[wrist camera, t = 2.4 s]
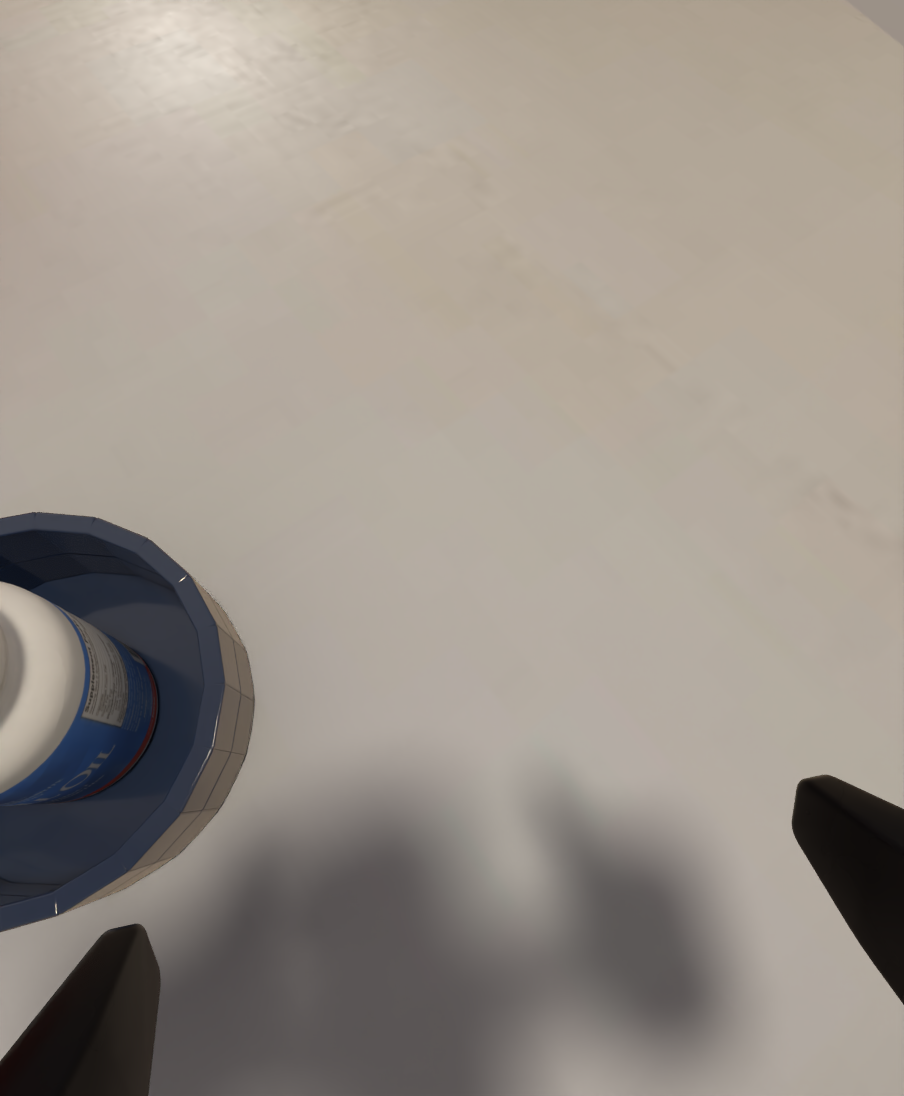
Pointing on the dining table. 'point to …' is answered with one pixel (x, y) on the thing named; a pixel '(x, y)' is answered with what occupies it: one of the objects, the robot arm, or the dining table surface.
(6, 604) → the pill bottle
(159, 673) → the shallow round bowl
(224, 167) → the dining table surface
